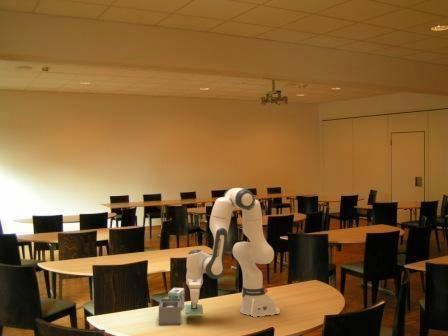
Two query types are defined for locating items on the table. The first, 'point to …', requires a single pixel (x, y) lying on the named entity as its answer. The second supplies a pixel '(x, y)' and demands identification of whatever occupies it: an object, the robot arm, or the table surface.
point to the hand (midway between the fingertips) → (194, 306)
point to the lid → (193, 309)
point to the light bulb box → (177, 295)
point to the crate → (169, 311)
